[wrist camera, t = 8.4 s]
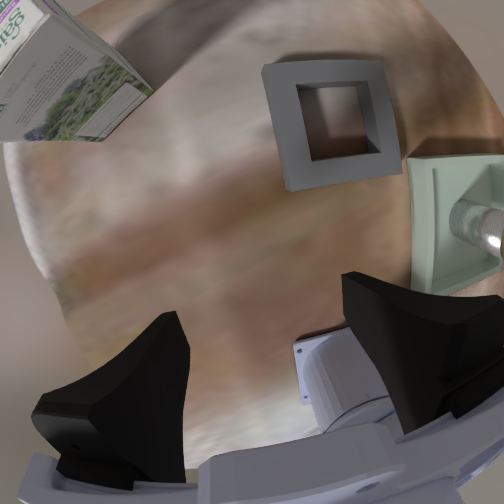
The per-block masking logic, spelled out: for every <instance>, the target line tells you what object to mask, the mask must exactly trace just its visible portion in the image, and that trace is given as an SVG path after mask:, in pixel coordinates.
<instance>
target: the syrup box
mask: <svg viewBox="0 0 504 504" xmlns="http://www.w3.org/2000/svg"><path fill="white" fill-rule="evenodd" d="M152 93H153V89H152V88H151V87H150V86H149V85H148V84H147V83H146V82H145V80H144V79H143V78H142V77H141V76H140V75H139V74H138V73H137V72H136V70H135V69H134V68H133V67H132V66H131V65H130V64H129V63H128V62H127V61H126V60H125V58H124V57H123V56H122V55H121V54H120V53H119V52H118V51H117V50H116V49H114V48H113V47H112V46H111V45H109V44H108V43H107V42H105V41H104V40H103V39H101V38H100V37H99V36H98V35H97V34H95V33H94V32H93V31H92V30H90V29H89V28H88V27H87V26H86V25H84V24H83V23H82V22H81V21H80V20H78V19H77V18H76V17H75V16H74V15H72V14H71V13H69V11H67V10H66V9H65V8H64V7H63V6H61V5H60V4H59V3H57V2H56V1H55V0H0V143H8V142H28V141H86V142H102V141H103V140H105V138H106V137H107V136H108V135H109V134H110V133H111V132H112V131H113V130H114V129H115V128H116V127H117V126H118V125H119V124H120V123H121V122H122V121H123V120H124V119H125V118H126V117H127V116H128V115H129V114H130V113H131V112H132V111H133V110H134V109H136V108H137V107H138V106H139V105H140V104H141V103H142V102H143V101H144V100H146V99H147V98H148V97H149V96H150V95H151V94H152Z"/></svg>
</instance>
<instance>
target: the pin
mask: <svg viewBox="0 0 504 504" xmlns="http://www.w3.org/2000/svg"><path fill="white" fill-rule="evenodd" d="M449 227H450V231H451V233H452V235H453V236H454V237H456V238H458V239H460V240H463V241H465V242H467V243H469V244H471V245H473V246H475V247H477V248H480V249H482V250H484V251H486V252H488V253H490V254H492V255H494V256H496V257H498V258H500V259H501V260H503V261H504V211H503V210H500V209H497V208H494V207H491V206H487V205H484V204H481V203H477V202H474V201H470V200H467V199H460V200H458V201H457V202H456V203H455V204H454V205H453V207H452V209H451V212H450V216H449Z"/></svg>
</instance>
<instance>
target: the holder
mask: <svg viewBox="0 0 504 504" xmlns="http://www.w3.org/2000/svg"><path fill="white" fill-rule="evenodd" d="M261 74H262V78H263V83H264V87H265V91H266V96H267V100H268V105H269V109H270V114H271V118H272V123H273V128H274V132H275V137H276V142H277V147H278V152H279V157H280V162H281V167H282V173H283V178H284V183H285V188H286V189H287V190H289V191H291V192H292V191H298V190H303V189H308V188H314V187H320V186H325V185H331V184H337V183H343V182H349V181H356V180H362V179H369V178H375V177H382V176H389V175H397V174H403V172H402V163H401V155H400V147H399V141H398V134H397V128H396V122H395V117H394V112H393V107H392V102H391V97H390V93H389V89H388V85H387V80H386V77H385V73H384V69H383V65H382V62H381V61H376V60H346V59H337V60H307V61H293V62H282V63H273V64H264V67H263V69H262V72H261ZM349 86H356V88H357V92H358V97H359V101H360V106H361V110H362V115H363V120H364V126H365V131H366V137H367V143H368V149H369V153H360V154H352V155H344V156H337V157H329V158H322V159H316V160H311V156H310V150H309V145H308V140H307V134H306V129H305V125H304V120H303V115H302V110H301V106H300V101H299V97H298V93H297V90H302V89H313V88H327V87H349Z"/></svg>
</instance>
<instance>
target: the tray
mask: <svg viewBox="0 0 504 504" xmlns="http://www.w3.org/2000/svg"><path fill="white" fill-rule="evenodd" d="M407 164H408V174H409V185H410V199H411V220H412V264H411V286H410V290H413V291H418V292H422V293H427V294H433V295H441V296H447V295H449V294H452V293H454V292H456V291H459V290H461V289H463V288H465V287H468V286H470V285H472V284H474V283H476V282H478V281H481V280H483V279H485V278H487V277H489V276H491V275H493V274H495V273H497V272H499V271H501V268H502V262H503V260H501V259H500V258H498V257H496V256H494V255H492V254H490V253H488V252H486V251H484V250H482V249H480V248H477V247H475V246H473V245H471V244H469V243H467V242H465V241H463V240H460V239H458V238H456V237H454V236H453V235H452V233H451V231H450V227H449V216H450V212H451V209H452V207H453V205H454V204H455V203H456V202H457V201H458V200H460V199H467V200H470V201H474V202H477V203H481V204H484V205H487V206H491V207H494V208H497V209H500V210H503V211H504V155H503V154H495V153H469V154H449V155H434V156H421V157H409V158H407Z"/></svg>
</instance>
